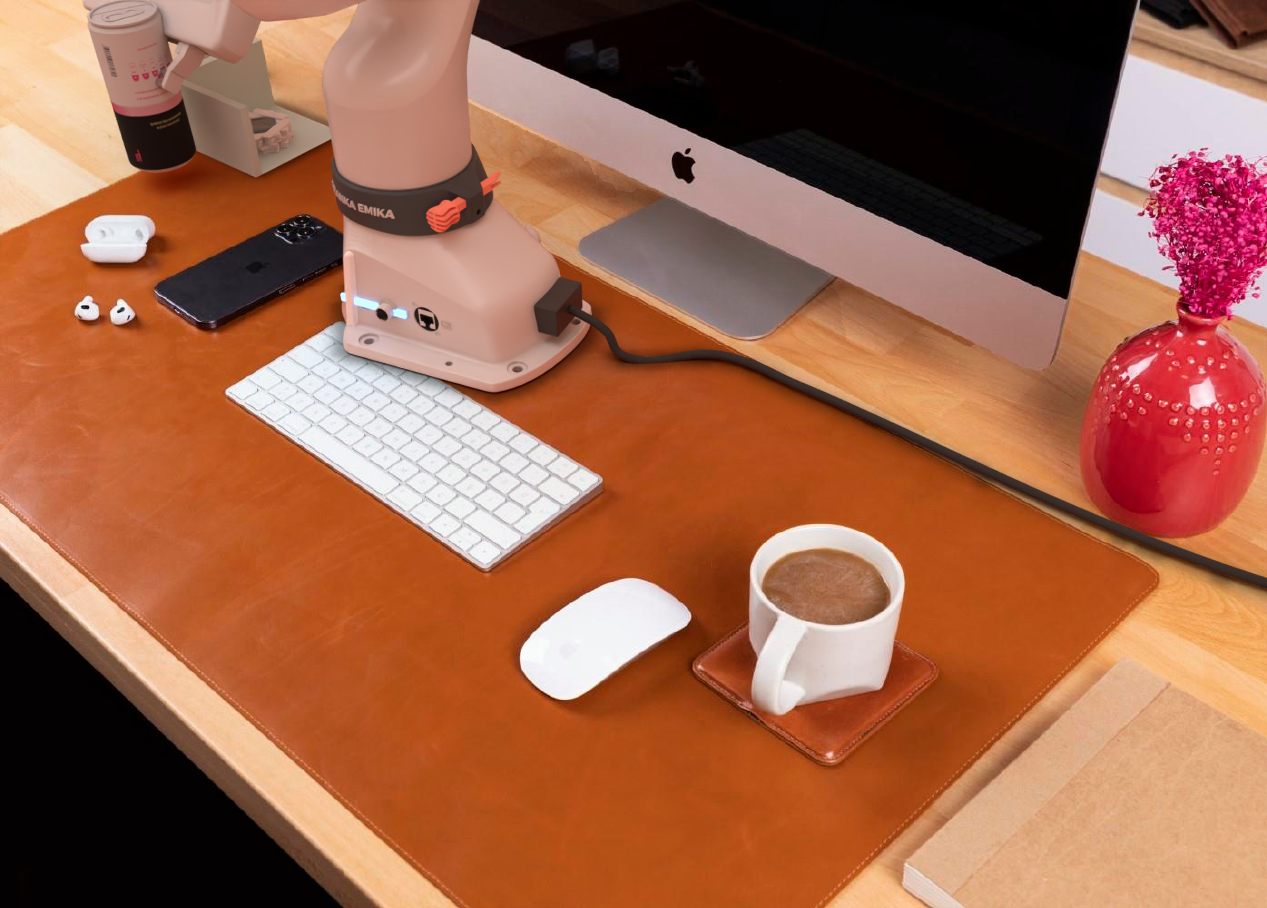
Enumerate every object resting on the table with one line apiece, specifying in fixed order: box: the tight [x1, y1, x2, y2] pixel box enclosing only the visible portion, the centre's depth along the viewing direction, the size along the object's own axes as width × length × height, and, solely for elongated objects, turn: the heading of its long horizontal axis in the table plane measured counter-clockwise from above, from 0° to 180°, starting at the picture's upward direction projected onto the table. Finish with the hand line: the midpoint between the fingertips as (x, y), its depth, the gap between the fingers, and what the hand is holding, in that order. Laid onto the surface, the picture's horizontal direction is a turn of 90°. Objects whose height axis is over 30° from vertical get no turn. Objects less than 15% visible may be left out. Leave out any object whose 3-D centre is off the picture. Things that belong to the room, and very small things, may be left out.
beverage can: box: [86, 0, 197, 174], centre depth 122 cm, size 6×7×15 cm
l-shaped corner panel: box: [180, 37, 331, 178], centre depth 133 cm, size 12×12×8 cm
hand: (138, 80), depth 121 cm, fingers closed on beverage can, 6 cm apart
